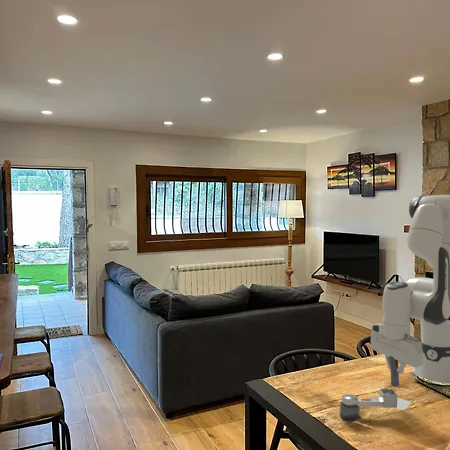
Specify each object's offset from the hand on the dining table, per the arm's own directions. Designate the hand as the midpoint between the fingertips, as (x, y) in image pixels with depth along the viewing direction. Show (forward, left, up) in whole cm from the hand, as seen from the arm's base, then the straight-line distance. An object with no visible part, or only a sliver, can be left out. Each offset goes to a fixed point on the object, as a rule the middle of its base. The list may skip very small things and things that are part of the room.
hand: (395, 371), depth 140 cm
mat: (0, 0, -12) cm, 12 cm away
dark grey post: (0, 0, -5) cm, 5 cm away
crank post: (+18, -8, -12) cm, 23 cm away
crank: (+14, -3, -7) cm, 16 cm away
